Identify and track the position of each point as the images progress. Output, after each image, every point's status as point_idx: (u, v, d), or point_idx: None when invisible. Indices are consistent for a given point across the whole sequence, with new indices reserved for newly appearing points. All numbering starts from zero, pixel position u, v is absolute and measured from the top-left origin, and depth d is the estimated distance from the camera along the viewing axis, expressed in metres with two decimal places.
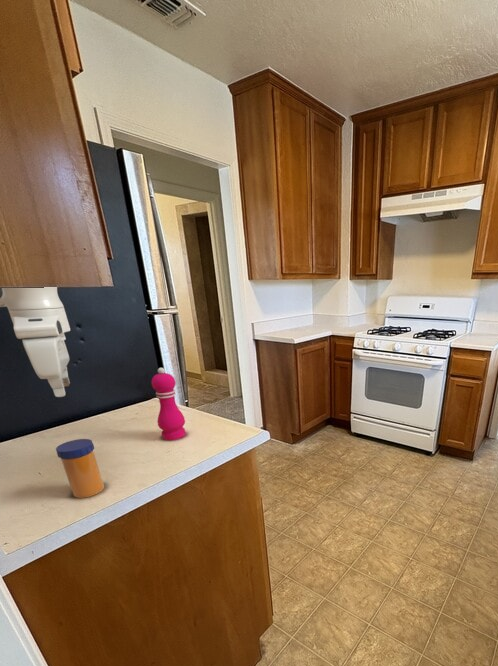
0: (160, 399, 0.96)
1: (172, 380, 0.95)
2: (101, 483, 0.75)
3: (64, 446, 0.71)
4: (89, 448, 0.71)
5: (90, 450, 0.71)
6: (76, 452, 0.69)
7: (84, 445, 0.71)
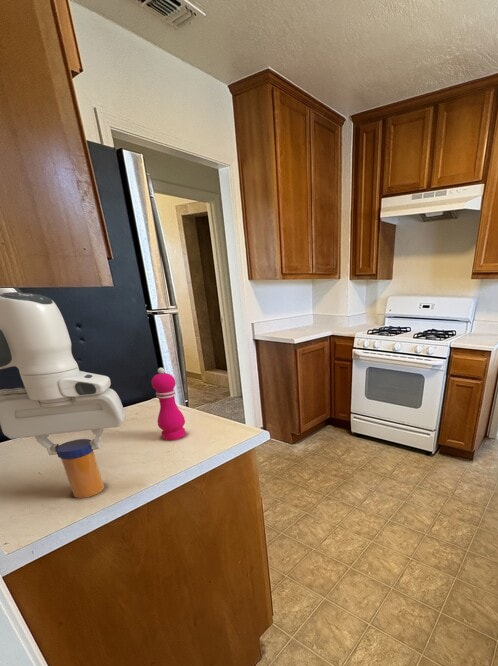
0: (160, 399, 0.96)
1: (172, 380, 0.95)
2: (101, 483, 0.75)
3: (64, 446, 0.71)
4: (89, 448, 0.71)
5: (90, 450, 0.71)
6: (76, 452, 0.69)
7: (84, 445, 0.71)
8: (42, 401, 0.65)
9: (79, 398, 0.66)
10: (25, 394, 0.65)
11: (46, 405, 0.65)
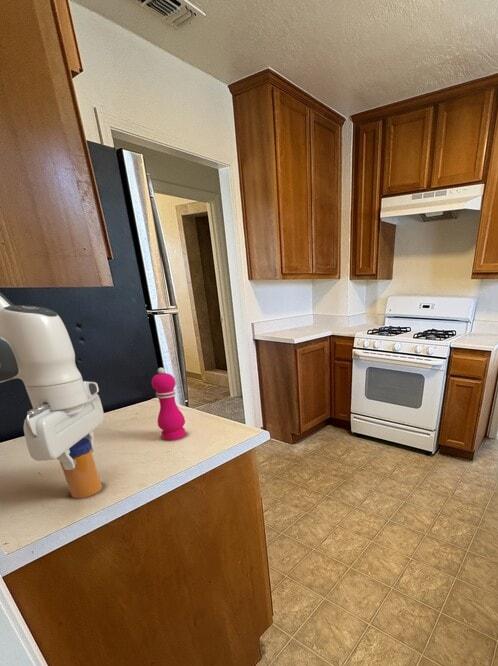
0: (160, 399, 0.96)
1: (172, 380, 0.95)
2: (99, 483, 0.75)
3: None
4: None
5: None
6: (89, 443, 0.73)
7: (82, 439, 0.73)
8: (72, 408, 0.67)
9: (89, 399, 0.72)
10: (47, 409, 0.63)
11: (76, 411, 0.68)
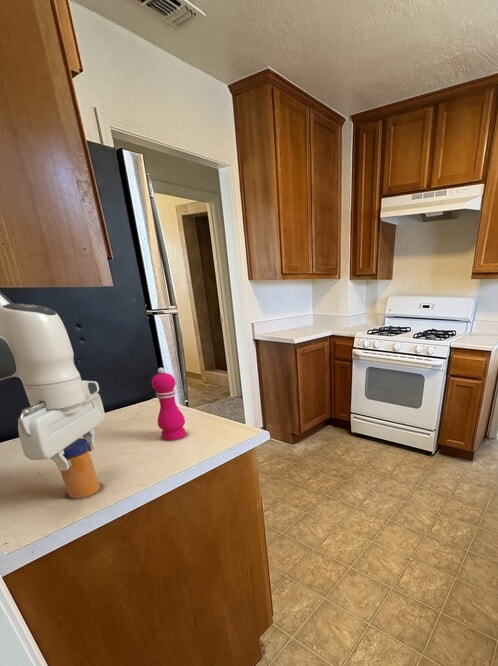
0: (160, 399, 0.96)
1: (172, 380, 0.95)
2: (97, 483, 0.75)
3: None
4: None
5: None
6: (87, 443, 0.72)
7: (79, 440, 0.73)
8: (69, 408, 0.66)
9: (88, 398, 0.72)
10: (43, 408, 0.63)
11: (73, 411, 0.67)
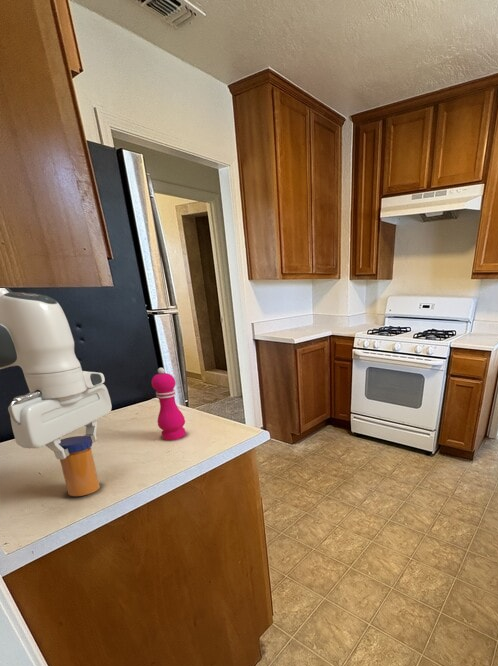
0: (160, 399, 0.96)
1: (172, 380, 0.95)
2: (97, 482, 0.75)
3: (79, 441, 0.71)
4: None
5: None
6: None
7: (69, 438, 0.73)
8: (66, 398, 0.66)
9: (90, 389, 0.72)
10: (39, 397, 0.63)
11: (71, 401, 0.67)
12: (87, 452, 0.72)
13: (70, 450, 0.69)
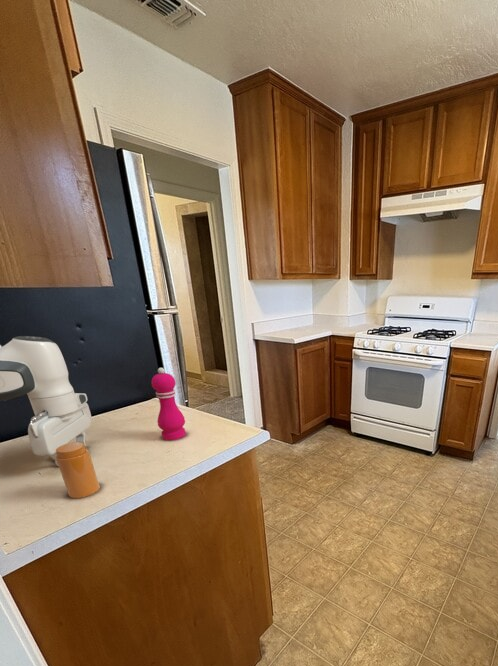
0: (160, 399, 0.96)
1: (172, 380, 0.95)
2: (97, 483, 0.75)
3: None
4: None
5: None
6: None
7: None
8: (65, 415, 0.85)
9: (79, 407, 0.90)
10: (46, 416, 0.81)
11: (69, 417, 0.86)
12: (84, 454, 0.72)
13: None
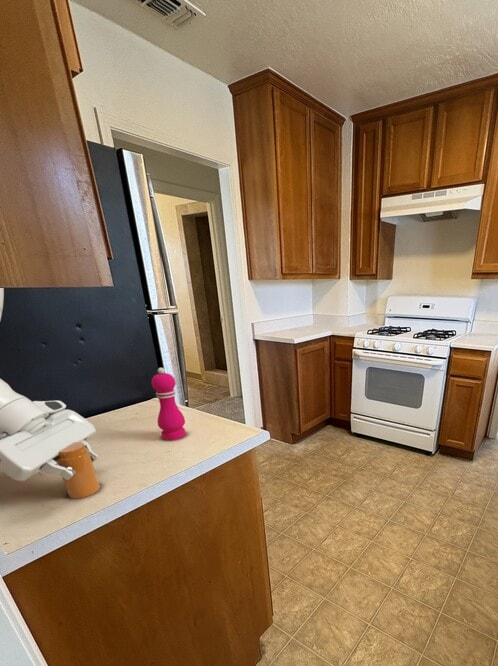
0: (160, 399, 0.96)
1: (172, 380, 0.95)
2: (97, 483, 0.75)
3: None
4: None
5: None
6: None
7: None
8: (31, 426, 0.68)
9: (55, 414, 0.73)
10: (7, 436, 0.65)
11: (38, 426, 0.68)
12: (84, 454, 0.72)
13: None
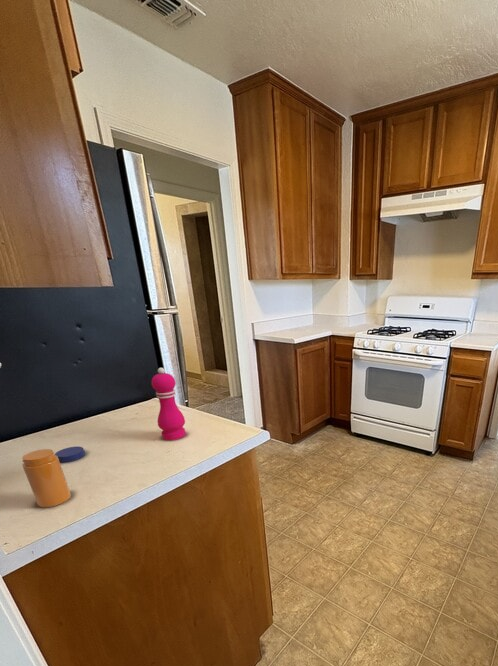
0: (160, 399, 0.96)
1: (172, 380, 0.95)
2: (67, 491, 0.72)
3: (75, 451, 0.90)
4: None
5: None
6: None
7: (64, 449, 0.91)
8: None
9: None
10: None
11: None
12: (53, 462, 0.69)
13: (71, 459, 0.88)
